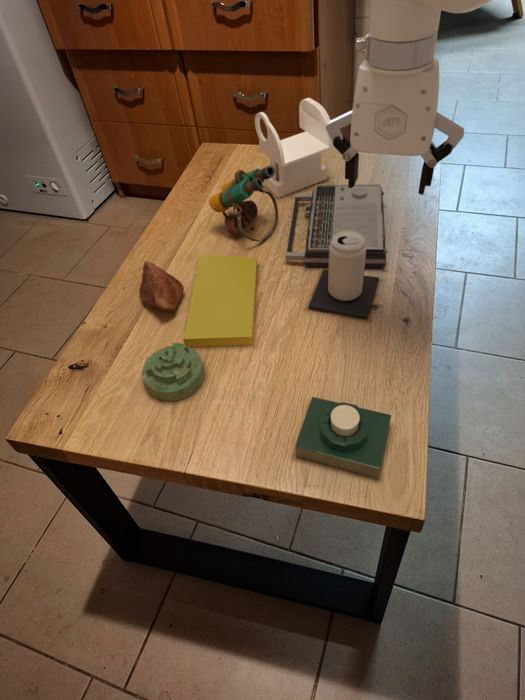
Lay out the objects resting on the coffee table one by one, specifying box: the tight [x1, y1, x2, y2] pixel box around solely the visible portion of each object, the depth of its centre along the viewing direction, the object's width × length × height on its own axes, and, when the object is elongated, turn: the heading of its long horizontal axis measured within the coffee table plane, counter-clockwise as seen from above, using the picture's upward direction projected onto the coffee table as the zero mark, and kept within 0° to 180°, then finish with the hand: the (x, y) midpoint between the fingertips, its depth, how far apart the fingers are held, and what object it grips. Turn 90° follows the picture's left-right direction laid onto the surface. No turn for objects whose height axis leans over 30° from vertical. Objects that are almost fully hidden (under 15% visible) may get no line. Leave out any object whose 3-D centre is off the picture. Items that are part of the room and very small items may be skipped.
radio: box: [285, 183, 389, 270], centre depth 103 cm, size 24×5×20 cm
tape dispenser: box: [254, 97, 335, 199], centre depth 113 cm, size 14×13×18 cm
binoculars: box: [208, 165, 279, 242], centre depth 103 cm, size 14×14×15 cm
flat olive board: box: [183, 253, 259, 348], centre depth 93 cm, size 12×2×24 cm
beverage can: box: [328, 231, 367, 301], centre depth 87 cm, size 6×6×12 cm
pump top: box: [330, 405, 360, 437], centre depth 68 cm, size 4×4×2 cm
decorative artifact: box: [141, 342, 205, 402], centre depth 80 cm, size 10×7×10 cm
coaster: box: [308, 268, 380, 321], centre depth 92 cm, size 11×11×1 cm
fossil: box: [138, 260, 185, 311], centre depth 93 cm, size 13×8×10 cm
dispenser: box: [294, 396, 392, 479], centre depth 70 cm, size 12×9×5 cm
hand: (386, 186), depth 68 cm, fingers open, 9 cm apart
